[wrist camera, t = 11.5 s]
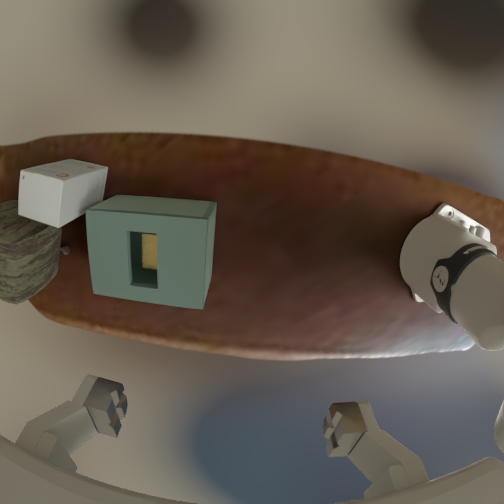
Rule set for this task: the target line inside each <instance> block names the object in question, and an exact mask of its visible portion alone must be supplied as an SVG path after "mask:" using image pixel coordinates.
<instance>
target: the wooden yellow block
mask: <svg viewBox="0 0 504 504" xmlns="http://www.w3.org/2000/svg"><path fill="white" fill-rule="evenodd" d="M142 268H147V269H155V270H157V234H155V233H144V232H143V233H142Z"/></svg>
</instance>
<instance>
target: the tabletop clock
mask: <svg viewBox="0 0 504 504" xmlns="http://www.w3.org/2000/svg"><path fill="white" fill-rule="evenodd" d="M61 234H62V228H61V227H60V228H56V227H53V226H50V225H47V224H44V223H41V222H38V221H35V220H32V219H29V218H26V217H23V216H20V215H18V200H10V201H6V202H3V203H0V299H2V300H4V301H6V302H9V303H13V304H18V303H21V302H24V301H26V300H28V299H29V298H31V297H32V296H34V295H35V294H36V293H38V292H39V291H40V290H42V289H43V288H44V287H45V286H46V285H47V284H48V283H49V282H50V281H51V280H52V279H53V278H54V276H55V275H56V274H57V271H58V267H59V254H60V250H61V251H62V252H63V253H64V254H69V253H70V247H69V246H64V247H60V243H61Z"/></svg>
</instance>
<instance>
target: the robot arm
mask: <svg viewBox="0 0 504 504" xmlns="http://www.w3.org/2000/svg"><path fill="white" fill-rule="evenodd" d="M449 211H450V213H449ZM448 213H449V215H448ZM400 270H401V274H402V277H403V279H404V281H405V282H406V283H407V284H408V285H409V286H410V288H411V290H412V295H413V298H414V299H415V300H416V301H417V302H423V301H424V302H426V303H427V304H428V305H429V306H430V307H431V308H432V309H434V310H435V311H436V312H437V313H441V312H444V314H445V315H446V316H447V317H448V318H450V319H451V320H452V321H453V322H455V323H457V324H459V325H460V326H461V327H462V328H463V329H464V330H465V332H466V333H467V334H468V335H469V336H470V337H471V338H472V339H473V341H474V342H475V343H476V344H477V345H478V346H479V347H480V348H482V349H485V350H490V351H497V350H501V349H504V262H502V261H500V260H499V258H498V256H497V250H496V247H495V245H493V244H492V243H490V232H489V230H488V229H487V228H485V227H484V226H482V225H481V224H479V223H478V222H476V221H474V220H473V219H471V218H470V217H468V216H466V215H465V214H463V213H461V212H460V211H458V210H456V209H455V208H453V207H451V206H449V205H448V204H446V203H443V204H441V205H440V206H439V207H438V208H437V209H436V211H435V212H434V213H433V214H432V215H431V216H429V217H427V218H425V219H424V220H422V221H421V222H419V223H418V224H417V225H416V226H415V227H414V228H413V229H412V230H411V232H410V233H409V235H408V236H407V238H406V240H405V242H404V244H403V247H402V250H401V255H400ZM123 391H124V386H123V384H122V383H118V382H115V381H111V380H107V379H104V378H100V377H97V376H93V375H90V374H88V375H87V376H86V377H85V378H84V380H83V381H82V383H81V385H80V387H79V388H78V390H77V392H76V394H75V396H74V397H73V399H72V401H66V402H65V403H63V404H61V405H59V406H57V407H55V408H53V409H51V410H49V411H48V412H46V413H44V414H42V415H40V416H38V417H36V418H34V419H32V420H30V421H28V422H27V424H26V425H25V427H24V429H23V430H22V432H21V434H20V436H19V437H18V439H17V441H16V443H13V442H11V441H10V440H8V439H6V438H5V437H3V436H1V435H0V504H196V503H188V502H182V501H176V500H170V499H165V498H160V497H155V496H150V495H146V494H142V493H138V492H134V491H130V490H127V489H123V488H119V487H116V486H113V485H109V484H106V483H103V482H100V481H97V480H94V479H92V478H89V477H86V476H83V475H81V474H78V473H76V470H77V466H76V464H75V463H74V461H73V460H72V459H71V457H70V455H71V454H73V453H74V452H75V451H76V450H78V449H79V448H81V447H82V446H83V445H84V444H85V443H87V442H88V441H90V440H91V439H92V438H94V437H95V436H96V435H97V434H98V433H101V434H105V435H108V436H112V437H118V434H119V431H120V429H121V422H120V420H121V419H123V418H124V417H125V415H126V412H127V405H128V404H127V397H126V396H125V395H124V394H123ZM329 411H330V413H328V414H327V415H326V416H325V418H324V421H323V434H324V436H325V437H326V438H327V439H328V441H327V443H326V448H327V453H328V457H339V456H348V458H349V459H350V460H351V461H352V462H353V463H354V464H355V465H356V466H357V467H358V468H359V469H360V470H361V472H363V474H364V475H366V477H367V478H368V479H369V480H370V481H371V482H372V483H373V484H372V485H371V486H370V487H369V488H368V489H367V490H366V491H365V492H364V497H365V498H364V499H359V500H353V501H348V502H341V503H334V504H504V463H503V462H501V461H499V460H498V459H496V458H493V457H486V458H484V459H482V460H480V461H477V462H475V463H473V464H471V465H469V466H467V467H465V468H462V469H460V470H457V471H455V472H452V473H450V474H447V475H445V476H442V477H439V478H436V479H434V480H431V481H429V479H428V476H427V474H426V471H425V469H424V466H423V464H422V461H421V459H420V458H419V457H418V456H417V455H415V454H414V453H412V452H411V451H410V450H408V449H407V448H406V447H404V446H403V445H402V444H400V443H399V442H398V441H396V440H395V439H394V438H392V437H391V436H390V435H388V434H387V433H386V432H385V431H383V430H379V428H378V425H377V422H376V419H375V417H374V414H373V412H372V409H371V406H370V404H369V402H368V401H360V402H342V403H332V404H331V405H330V407H329ZM494 436H495V441H496V443H497V445H498V447H499V449H500V450H501V451H502V452H503V453H504V400H503V403H502V405H501V408H500V411H499V414H498V416H497V419H496V422H495V426H494Z"/></svg>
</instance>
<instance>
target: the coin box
mask: <svg viewBox="0 0 504 504" xmlns="http://www.w3.org/2000/svg"><path fill="white" fill-rule="evenodd" d="M216 209H217V202H211V201H200V200H188V199H176V198H162V197H148V196H131V195H115V196H113V197H111V198H109V199H107V200H105V201H103V202H101V203H99V204H97V205H95V206H93V207H91V208H89V209H87V210H86V229H87V242H88V253H89V263H90V271H91V279H92V286H93V293H94V294H99V295H104V296H110V297H116V298H122V299H128V300H135V301H141V302H148V303H155V304H162V305H169V306H177V307H185V308H193V309H201V310H203V307H204V303H205V300H206V296H207V292H208V288H209V284H210V281H211V277H212V264H213V249H214V235H215V222H216ZM143 232H144V233H155V234H157V270H155V269H147V268H142V233H143Z"/></svg>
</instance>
